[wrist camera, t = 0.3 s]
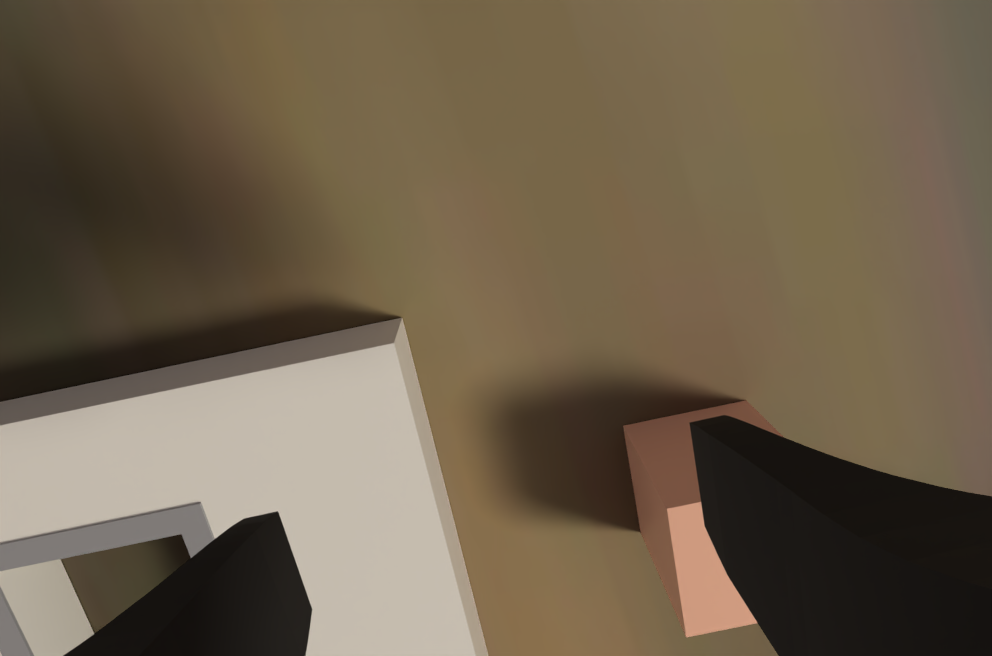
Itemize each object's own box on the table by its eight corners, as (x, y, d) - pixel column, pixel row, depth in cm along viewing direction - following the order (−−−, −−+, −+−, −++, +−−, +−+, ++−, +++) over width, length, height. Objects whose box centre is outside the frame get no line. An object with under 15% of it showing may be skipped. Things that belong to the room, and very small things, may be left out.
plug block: (757, 507, 23) (833, 607, 18) (640, 531, 23) (686, 637, 19) (745, 399, 22) (823, 476, 17) (622, 425, 22) (666, 508, 17)
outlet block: (496, 685, 25) (499, 748, 22) (-44, 793, 25) (-100, 867, 23) (401, 317, 21) (393, 343, 18) (-239, 451, 21) (-333, 496, 19)
